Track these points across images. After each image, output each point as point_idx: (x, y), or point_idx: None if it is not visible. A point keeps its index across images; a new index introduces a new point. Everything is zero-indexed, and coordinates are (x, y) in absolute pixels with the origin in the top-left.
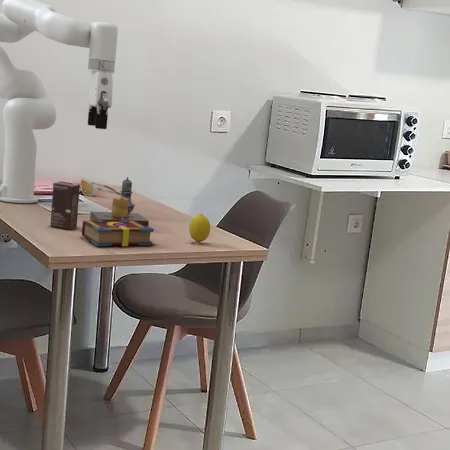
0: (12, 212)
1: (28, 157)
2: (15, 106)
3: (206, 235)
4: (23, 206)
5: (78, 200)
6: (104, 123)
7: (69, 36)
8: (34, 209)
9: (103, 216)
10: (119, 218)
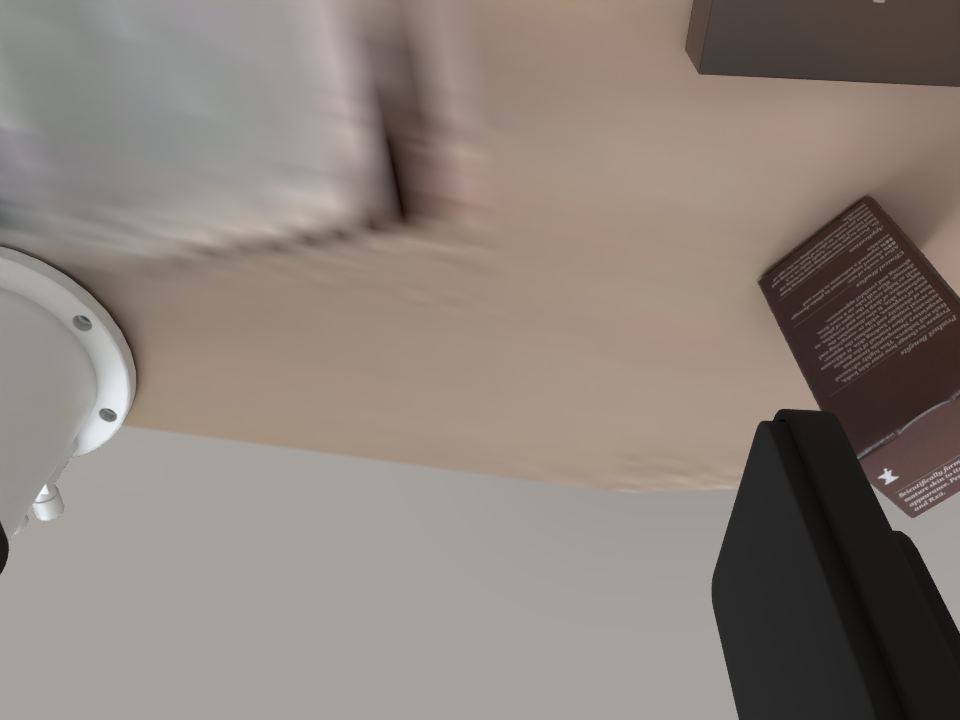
0: (419, 434)
1: None
2: None
3: None
4: (216, 355)
5: (951, 291)
6: (925, 575)
7: None
8: (296, 314)
9: (910, 20)
10: None
